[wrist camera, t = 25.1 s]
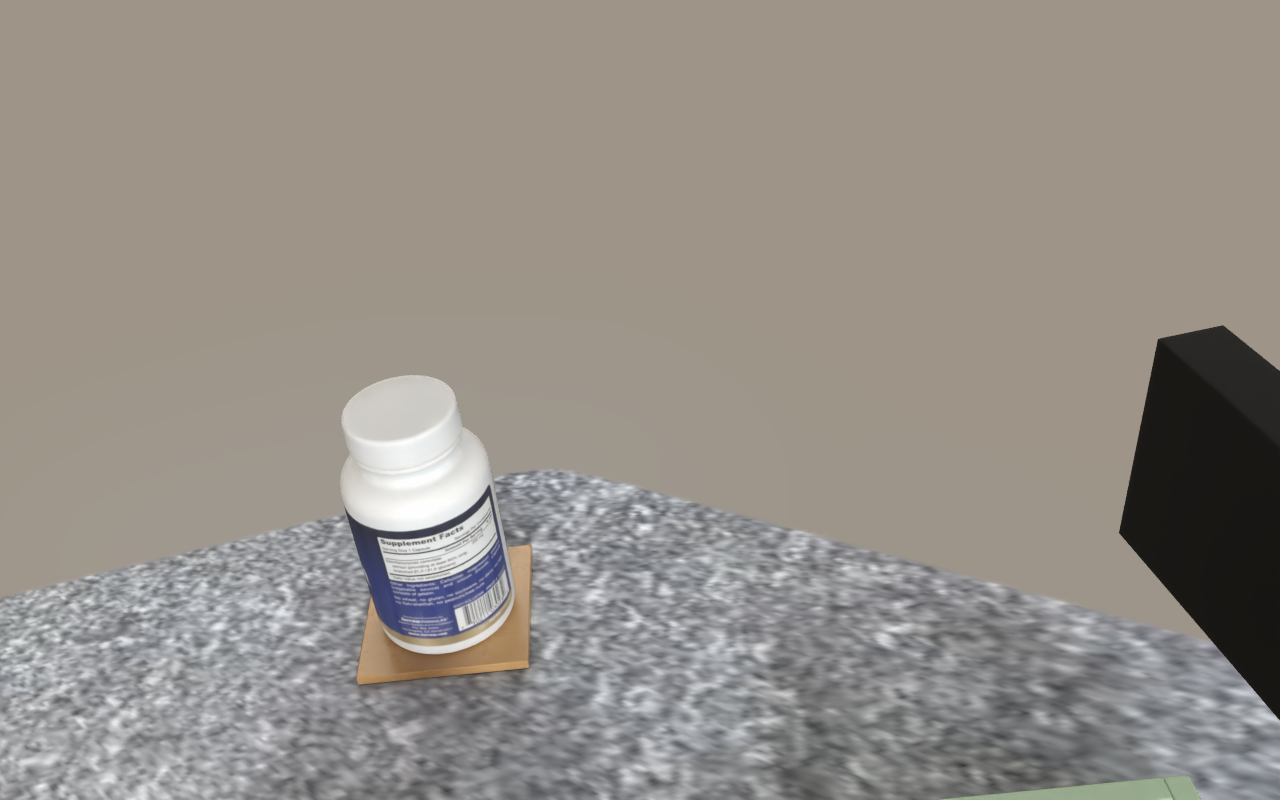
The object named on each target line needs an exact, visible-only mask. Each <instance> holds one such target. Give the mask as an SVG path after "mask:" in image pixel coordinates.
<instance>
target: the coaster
mask: <svg viewBox="0 0 1280 800" xmlns="http://www.w3.org/2000/svg"><path fill="white" fill-rule="evenodd" d="M507 550H508V555H509V560H510V564H511V569H512V575H513V580H514V586H515V598H514V603H513V606H512V609H511V612H510V614H509V616H508V617H507V619H506V620H505V622H504V623H503V624H502V626H501V627H500V628H499V629H498V630H497V631H495V632H494V633H493V634H492V635H490V636H489V637H488V638H486V639H485V640H483V641H481V642H479V643H478V644H476V645H473V646H471V647H469V648H466V649H463V650H460V651H456V652H451V653H444V654H422V653H416V652H413V651H410V650H407V649H405V648H403V647H401V646H399V645H398V644H396V643H395V642H393V641H392V640H391V639H390V638H389V637H388V636H387V634H386V633H385V631H384V630H383V628H382V626H381V623H380V621H379V618H378V615H377V612H376V609H375V606H374V603H373V600H372V596H371V598H370V604H369V609H368V615H367V621H366V626H365V632H364V637H363V643H362V648H361V654H360V659H359V665H358V670H357V676H356V679H357V682H358V684H359V685H360V684H370V683H380V682H391V681H401V680H411V679H421V678H431V677H441V676H451V675H462V674H472V673H482V672H492V671H502V670H512V669H522V668H529V659H530V621H531V584H532V546H531V545H522V546H512V547H507Z"/></svg>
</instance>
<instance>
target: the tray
mask: <svg viewBox="0 0 1280 800" xmlns="http://www.w3.org/2000/svg"><path fill="white" fill-rule="evenodd" d="M939 800H1201V798H1200V796H1199V794H1198V792H1197V790H1196V789H1195V787H1194V785H1193V783H1192V781H1191V779H1190V777H1189V776H1187V775H1186V776H1176V777H1166V778H1164V779H1163V778H1152V779H1142V780H1132V781H1122V782H1112V783H1101V784H1091V785H1081V786H1071V787H1061V788H1050V789H1040V790H1030V791H1020V792H1010V793H1000V794H989V795H979V796H969V797H959V798H949V799H939Z"/></svg>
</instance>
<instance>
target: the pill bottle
mask: <svg viewBox="0 0 1280 800" xmlns="http://www.w3.org/2000/svg"><path fill="white" fill-rule="evenodd" d="M341 422H342V428H343V432H344V436H345V439H346V443H347V447H348V450H349V452H350V456H349V457H348V459H347V461H346V462H345V464H344V466H343V469H342V473H341V478H340V490H341V495H342V499H343V503H344V507H345V511H346V514H347V517H348V520H349V524H350V527H351V530H352V534H353V537H354V541H355V544H356V547H357V551H358V554H359V557H360V561H361V564H362V568H363V570H364V573H365V577H366V580H367V583H368V586H369V590H370V593H371V596H372V600H373V603H374V606H375V609H376V612H377V615H378V618H379V621H380V623H381V626H382V628H383V630H384V631H385V633H386V634H387V636H388V637H389V638H390V639H391V640H392V641H393V642H395V643H396V644H398V645H399V646H401V647H403V648H405V649H407V650H410V651H413V652H416V653H422V654H444V653H451V652H456V651H460V650H463V649H466V648H469V647H471V646H473V645H476V644H478V643H479V642H481V641H483V640H485V639H486V638H488V637H489V636H490V635H492V634H493V633H494V632H495V631H497V630H498V629H499V628H500V627H501V626H502V624H503V623H504V622H505V620H506V619H507V617H508V616H509V614H510V612H511V609H512V606H513V603H514V598H515V586H514V580H513V575H512V569H511V564H510V560H509V555H508V550H507V545H506V540H505V536H504V531H503V526H502V521H501V516H500V512H499V507H498V502H497V497H496V492H495V487H494V482H493V477H492V471H491V467H490V463H489V459H488V455H487V453H486V450H485V447H484V446H483V444H482V443H481V441H480V440H479V439H478V438H477V437H476V436H475V435H474V434H473V433H472V432H470V431H469V430H467V429H466V428H464V427H462V420H461V416H460V413H459V409H458V405H457V401H456V397H455V394H454V392H453V391H452V389H451V388H450V387H449V386H448V385H447V384H446V383H444V382H442V381H440V380H438V379H435V378H432V377H427V376H421V375H408V376H400V377H394V378H389V379H386V380H383V381H380V382H377V383H374V384H372V385H370V386H368V387H366V388H365V389H363V390H362V391H360V392H359V393H357V394H356V395H355V396H354V397H353V398H351V400H350V401H349V402H348V403H347V405H346V406H345V408H344V410H343V413H342V417H341Z"/></svg>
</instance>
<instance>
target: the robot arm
mask: <svg viewBox="0 0 1280 800" xmlns="http://www.w3.org/2000/svg"><path fill="white" fill-rule="evenodd" d="M1119 533H1120V534H1121V536H1122V537H1123V538H1124V539H1125V540H1126V541H1127V543H1128V544H1129V545H1130V546H1131V547H1132V549H1133V550H1134V551H1135V552H1136V553H1137V554H1138V556H1139V557H1140V558H1141V559H1142V560H1143V561H1144V563H1145V564H1146V565H1147V566H1148V567H1149V568H1150V569H1151V571H1152V572H1153V573H1154V574H1155V575H1156V577H1157V578H1158V579H1159V580H1160V581H1161V582H1162V584H1163V585H1164V586H1165V587H1166V588H1167V589H1168V590H1169V592H1170V593H1171V594H1172V595H1173V596H1174V597H1175V599H1176V600H1177V601H1178V602H1179V603H1180V604H1181V605H1182V607H1183V608H1184V609H1185V610H1186V611H1187V613H1189V615H1190V616H1191V617H1192V618H1193V619H1194V621H1195V622H1196V623H1197V624H1198V625H1199V627H1200V628H1201V629H1202V630H1203V631H1204V632H1205V634H1206V635H1207V636H1208V637H1209V638H1210V639H1211V641H1212V642H1213V643H1214V644H1215V645H1216V646H1217V648H1218V649H1219V650H1220V651H1221V652H1222V653H1223V655H1224V656H1225V657H1226V658H1227V659H1228V660H1229V662H1230V663H1231V664H1232V665H1233V666H1234V667H1235V669H1236V670H1237V671H1238V672H1239V673H1240V674H1241V676H1242V677H1243V678H1244V679H1245V680H1246V681H1247V683H1248V684H1249V685H1250V686H1251V687H1252V688H1253V690H1254V691H1255V692H1256V693H1257V694H1258V695H1259V697H1260V698H1261V699H1262V700H1263V701H1264V702H1265V704H1266V705H1267V706H1268V707H1269V708H1270V709H1271V711H1272V712H1273V713H1274V714H1275V715H1276V716H1277V718H1278V719H1279V720H1280V371H1279V370H1278V369H1276V368H1275V367H1274V366H1273V365H1271V364H1270V363H1269V362H1268V361H1266V360H1265V359H1264V358H1263V357H1262V356H1260V355H1259V354H1258V353H1257V352H1255V351H1254V350H1253V349H1252V348H1250V347H1249V346H1248V345H1247V344H1246V343H1244V342H1243V341H1242V340H1240V339H1239V338H1238V337H1237V336H1236V335H1234V334H1233V333H1232V332H1231V331H1229V330H1228V329H1227V328H1226V327H1224V326H1218V327H1213V328H1209V329H1204V330H1199V331H1194V332H1189V333H1184V334H1180V335H1175V336H1170V337H1165V338H1161V339H1158V342H1157V347H1156V352H1155V357H1154V362H1153V367H1152V372H1151V377H1150V382H1149V387H1148V392H1147V397H1146V402H1145V407H1144V412H1143V416H1142V422H1141V426H1140V431H1139V436H1138V441H1137V446H1136V451H1135V456H1134V461H1133V466H1132V471H1131V476H1130V481H1129V486H1128V491H1127V496H1126V501H1125V506H1124V511H1123V516H1122V521H1121V526H1120V531H1119Z"/></svg>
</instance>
